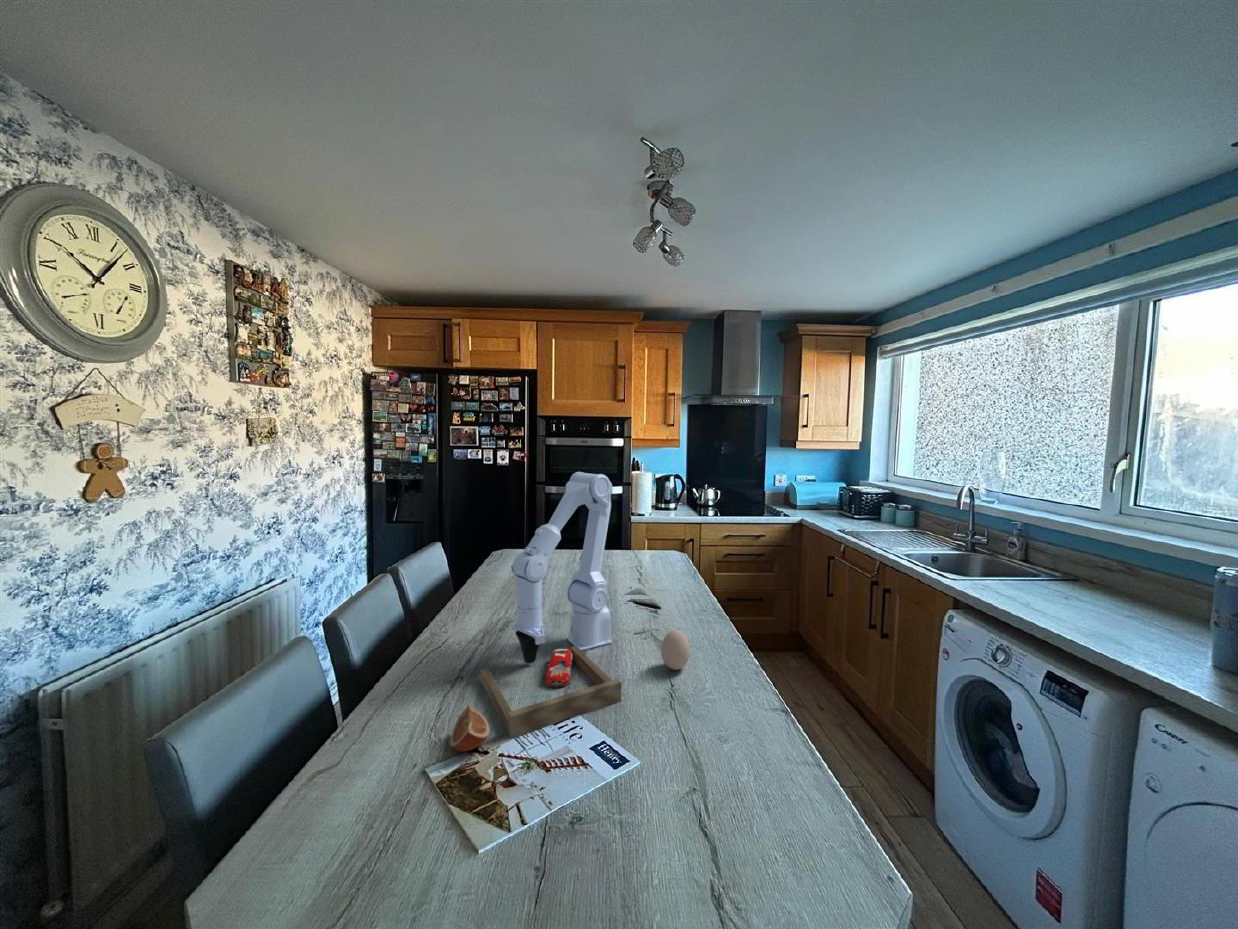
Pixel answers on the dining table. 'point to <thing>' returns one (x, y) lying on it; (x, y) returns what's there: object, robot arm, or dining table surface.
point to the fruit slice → (469, 730)
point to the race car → (559, 668)
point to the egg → (675, 650)
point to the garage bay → (555, 700)
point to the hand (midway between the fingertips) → (529, 661)
